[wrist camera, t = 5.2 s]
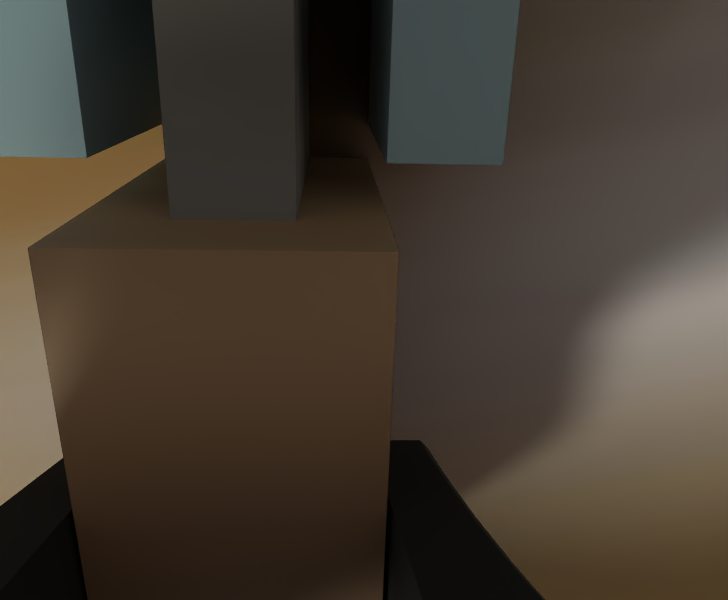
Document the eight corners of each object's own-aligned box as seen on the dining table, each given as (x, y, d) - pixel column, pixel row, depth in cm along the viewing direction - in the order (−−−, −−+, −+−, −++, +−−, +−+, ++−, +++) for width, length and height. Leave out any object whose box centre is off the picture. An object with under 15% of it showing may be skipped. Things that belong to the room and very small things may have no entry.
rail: (355, 560, 13) (370, 850, 8) (205, 562, 13) (131, 859, 8) (374, -103, 9) (425, -281, 4) (150, -112, 9) (-67, -308, 4)
